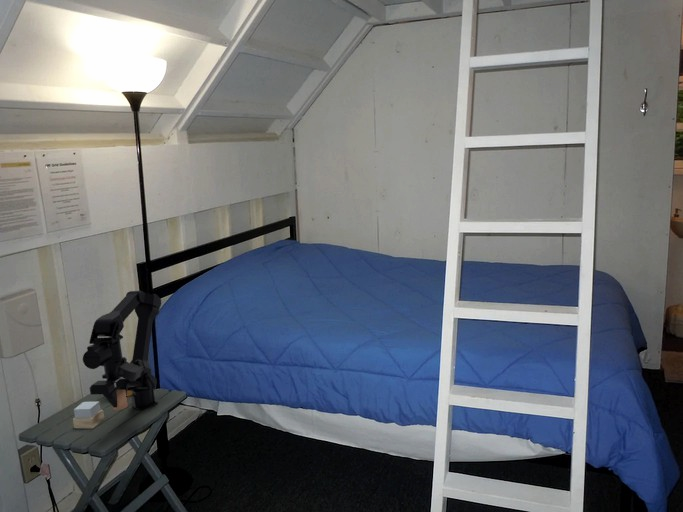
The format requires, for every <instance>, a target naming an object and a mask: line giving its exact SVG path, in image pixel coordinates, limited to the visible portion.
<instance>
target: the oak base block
mask: <svg viewBox="0 0 683 512" xmlns="http://www.w3.org/2000/svg"><path fill="white" fill-rule="evenodd" d="M104 420H105V413H104V409H101V410H100V411H99V412H98V413H97V414H95V415H94V416H93V417H92V418H75V417H73V418H72V423H73V429H94V428H95V427H96V426H98V425H99V424H100V423H101V422H102V421H104Z"/></svg>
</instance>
